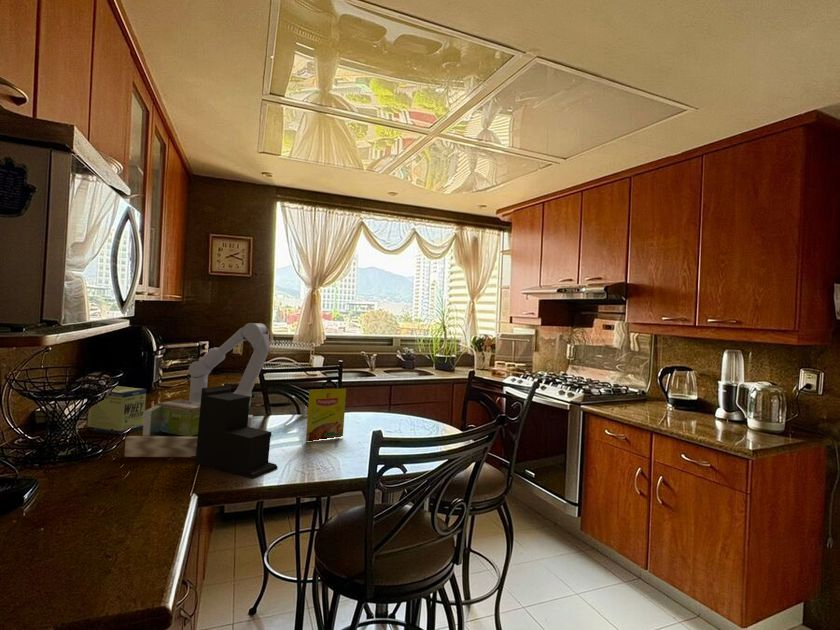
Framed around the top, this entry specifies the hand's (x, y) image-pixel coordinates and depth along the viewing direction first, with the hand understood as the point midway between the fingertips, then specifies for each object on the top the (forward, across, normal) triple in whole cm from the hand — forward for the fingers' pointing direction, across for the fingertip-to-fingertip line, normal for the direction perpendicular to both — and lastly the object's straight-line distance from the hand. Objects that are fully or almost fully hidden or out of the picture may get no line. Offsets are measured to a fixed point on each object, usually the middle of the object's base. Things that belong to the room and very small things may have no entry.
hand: (195, 429), depth 164 cm
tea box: (+3, +13, -1) cm, 13 cm away
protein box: (+3, -7, -30) cm, 31 cm away
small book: (+2, +19, -8) cm, 21 cm away
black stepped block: (+3, +35, +22) cm, 41 cm away
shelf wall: (+2, +25, 0) cm, 25 cm away
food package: (+3, +5, +48) cm, 48 cm away
